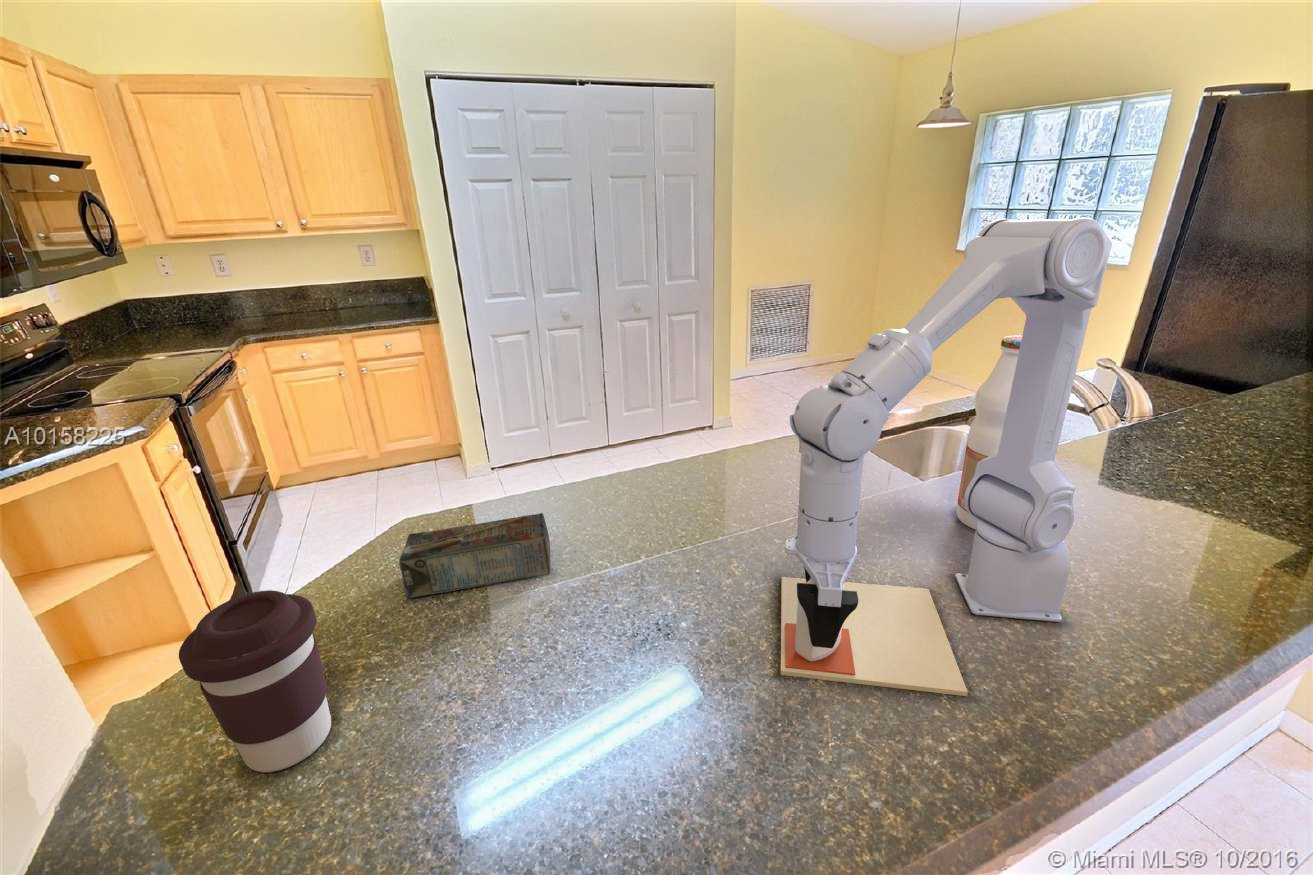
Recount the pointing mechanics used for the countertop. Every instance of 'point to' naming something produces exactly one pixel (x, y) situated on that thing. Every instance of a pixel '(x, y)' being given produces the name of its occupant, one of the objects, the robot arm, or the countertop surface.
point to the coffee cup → (262, 676)
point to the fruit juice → (988, 418)
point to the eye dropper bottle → (803, 637)
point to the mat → (878, 641)
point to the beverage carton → (475, 555)
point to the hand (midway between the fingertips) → (820, 620)
